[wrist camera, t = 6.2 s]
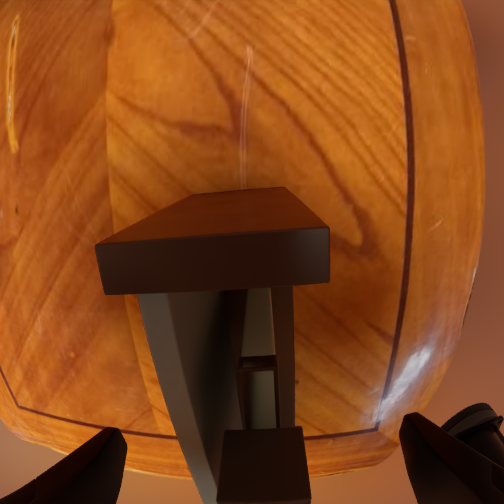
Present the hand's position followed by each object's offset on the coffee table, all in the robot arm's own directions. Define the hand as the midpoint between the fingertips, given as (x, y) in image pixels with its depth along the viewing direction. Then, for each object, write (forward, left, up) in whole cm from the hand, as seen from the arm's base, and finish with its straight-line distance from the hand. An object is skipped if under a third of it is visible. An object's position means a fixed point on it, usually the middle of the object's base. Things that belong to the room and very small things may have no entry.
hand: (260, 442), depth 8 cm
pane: (0, +1, -9) cm, 9 cm away
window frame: (+1, +3, -11) cm, 11 cm away
